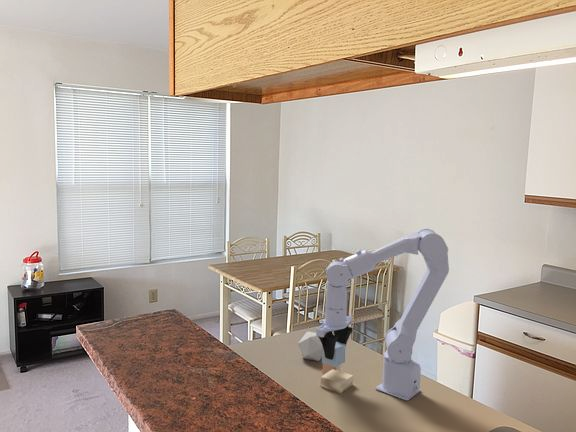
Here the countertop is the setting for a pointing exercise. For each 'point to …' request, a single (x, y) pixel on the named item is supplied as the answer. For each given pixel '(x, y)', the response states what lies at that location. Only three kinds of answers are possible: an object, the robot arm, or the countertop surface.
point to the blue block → (335, 355)
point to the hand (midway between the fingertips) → (334, 355)
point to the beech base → (336, 380)
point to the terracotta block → (329, 368)
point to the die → (311, 346)
